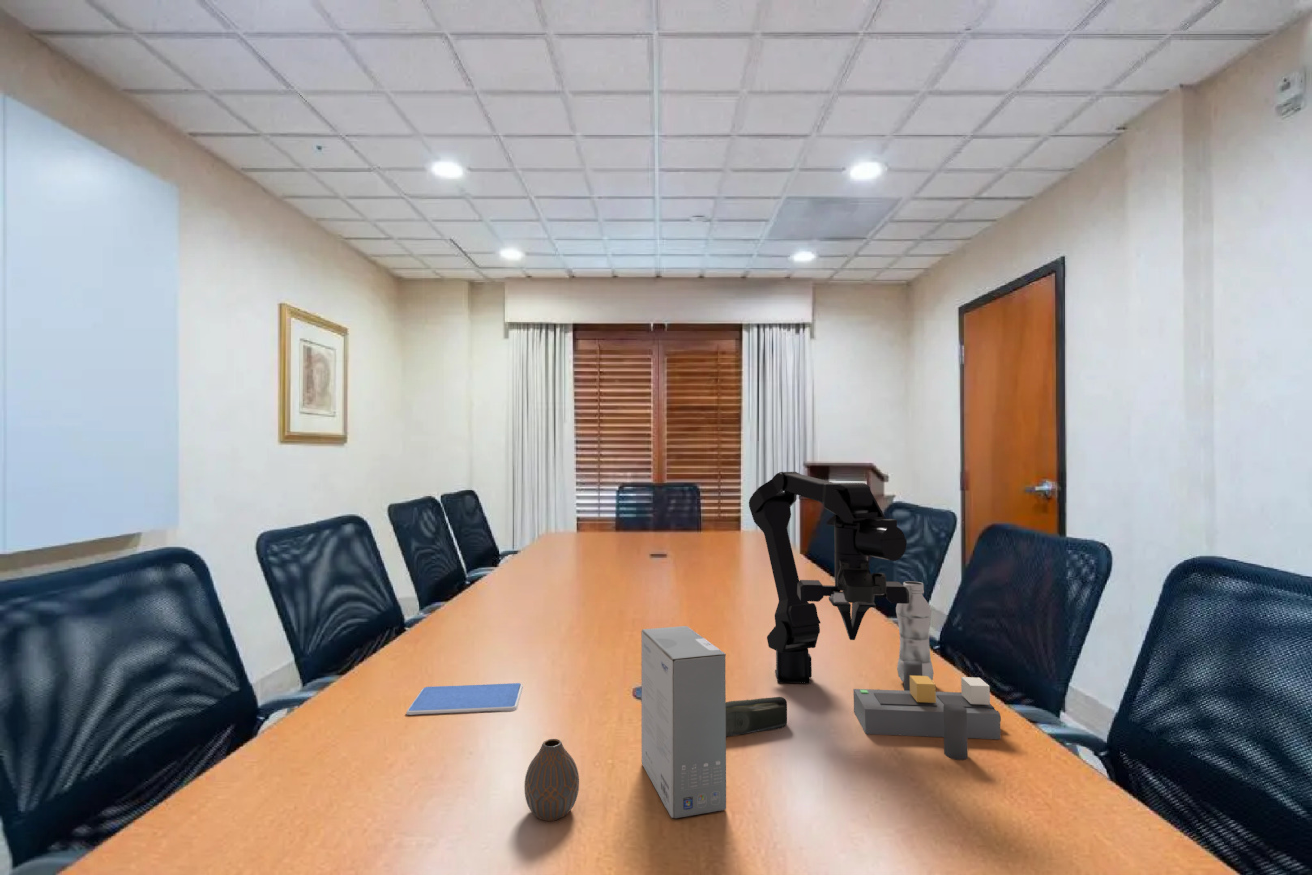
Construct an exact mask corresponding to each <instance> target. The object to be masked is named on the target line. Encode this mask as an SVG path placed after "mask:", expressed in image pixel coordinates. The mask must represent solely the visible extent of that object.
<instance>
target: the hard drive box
mask: <svg viewBox="0 0 1312 875" xmlns="http://www.w3.org/2000/svg"><path fill="white" fill-rule="evenodd" d="M640 632H641V765H642V766H643V768H644V770H645V772H646V774H647V776H648V778H649V779H650V781H651V783H652V785H653V787H654V789H655V790H656V793H657V795H659V798H660V801H661V802H662V805H663V806H664V807H665V809H666V811H667V813H668V815H669V816H670V818H672V819H680V818H685V817H691V816H696V815H702V814H709V813H715V812H720V811H726V810H727V736H726V702H727V701H726V696H727V695H726V693H727V692H726V656H727V654H726V653H725V652H724V651H722V650H721V649H720V648H718V647H717V646H716V645H715V644H713V643H711V642H710V641H709V640H707V639H706V638H705V637H703V636H702V635H700V634H698V633H697V632H696V631H694V629H692V628H690V627H689V626H687V625H682V626H668V627H667V626H666V627H655V628H644V629H643V628H642V630H641V631H640Z"/></svg>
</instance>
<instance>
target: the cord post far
mask: <svg viewBox="0 0 1312 875" xmlns="http://www.w3.org/2000/svg"><path fill="white" fill-rule="evenodd" d="M910 675H911V676H922V663H921V662H918V661H914V660H906V661H904V682H903V691H910Z"/></svg>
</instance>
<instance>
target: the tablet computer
mask: <svg viewBox="0 0 1312 875" xmlns="http://www.w3.org/2000/svg"><path fill="white" fill-rule="evenodd" d="M523 689H524V686H523V683H520V682H515V683H514V682H513V683H492V684H491V683H490V684H487V683H486V684H471V685H470V684H467V685H466V684H465V685H442V686H435V685H434V686H426V687H423V688H422V689H421V691H420V692H419V693H418V694H417V696H416V697H415V698H414V700H413V702H412V703H411V704H410V706H409V707H408V709H407V710H406V713H405V714H406V715H409V716H413V715H414V716H415V715H434V714H435V715H440V714H460V713H461V714H462V713H484V712H487V713H488V712H512V711H514V712H515V711H517V710H518V707H519V706H518V705H519V703H520V699H521V695H522V693H523Z"/></svg>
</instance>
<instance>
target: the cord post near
mask: <svg viewBox="0 0 1312 875" xmlns="http://www.w3.org/2000/svg"><path fill="white" fill-rule="evenodd" d="M943 712H944V737H943V750H944V751H943V754H944V755H945V756H946V757H948V758H949V759H953V760H957V761H964V760H967V759H968V755H969V754H968V753H969V752H968V738H967V709H966V708H965V707H963V706H960V705H956V704H946V705H944V706H943Z"/></svg>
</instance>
